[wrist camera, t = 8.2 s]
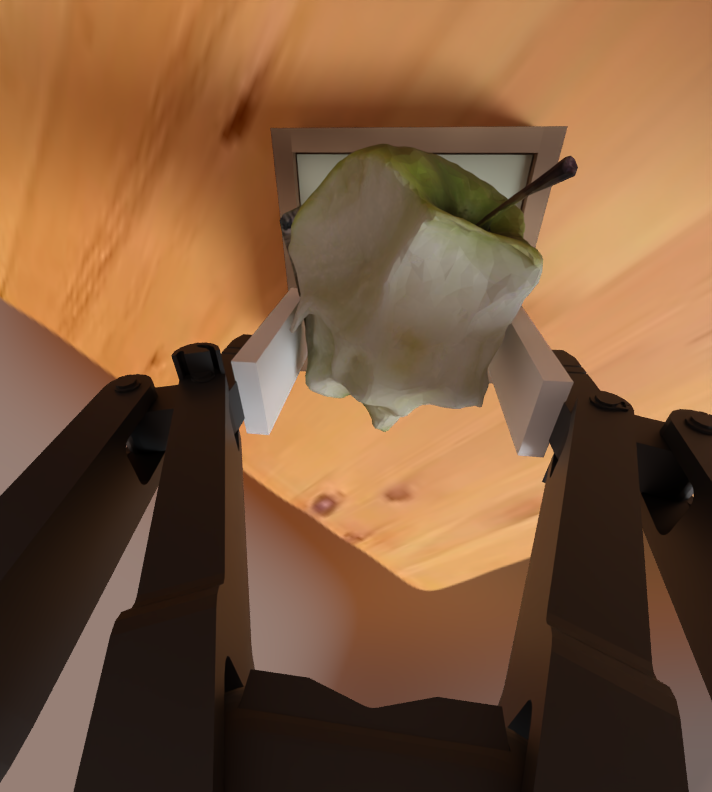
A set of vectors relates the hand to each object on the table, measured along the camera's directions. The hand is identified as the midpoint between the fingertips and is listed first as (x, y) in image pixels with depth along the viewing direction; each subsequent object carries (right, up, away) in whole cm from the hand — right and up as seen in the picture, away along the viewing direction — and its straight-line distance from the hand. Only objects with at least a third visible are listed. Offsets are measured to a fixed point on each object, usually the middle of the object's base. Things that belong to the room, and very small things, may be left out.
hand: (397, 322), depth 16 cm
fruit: (0, +2, -1) cm, 2 cm away
